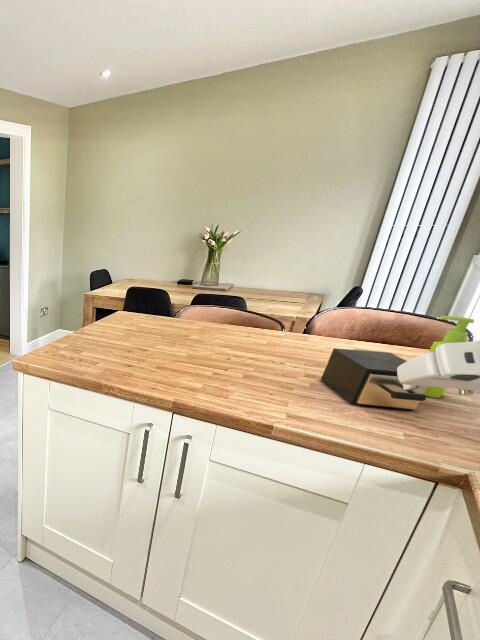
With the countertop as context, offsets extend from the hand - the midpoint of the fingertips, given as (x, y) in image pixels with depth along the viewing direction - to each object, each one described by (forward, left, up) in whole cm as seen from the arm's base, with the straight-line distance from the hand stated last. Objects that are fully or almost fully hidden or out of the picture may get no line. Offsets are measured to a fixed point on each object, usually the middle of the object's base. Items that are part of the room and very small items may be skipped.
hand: (434, 389), depth 83 cm
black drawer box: (+6, -17, -10) cm, 20 cm away
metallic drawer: (+5, -13, -9) cm, 16 cm away
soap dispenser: (-7, -28, -10) cm, 30 cm away
